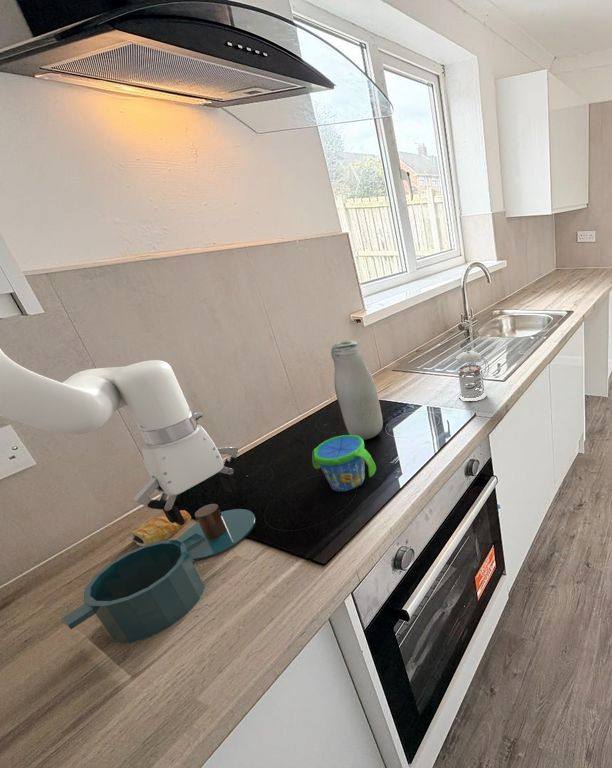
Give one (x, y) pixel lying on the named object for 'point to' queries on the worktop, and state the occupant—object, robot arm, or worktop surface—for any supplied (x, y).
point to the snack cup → (343, 461)
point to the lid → (219, 530)
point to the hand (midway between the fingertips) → (206, 506)
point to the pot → (143, 591)
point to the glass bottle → (356, 391)
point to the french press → (469, 389)
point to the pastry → (157, 529)
